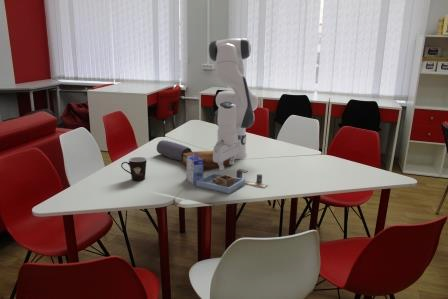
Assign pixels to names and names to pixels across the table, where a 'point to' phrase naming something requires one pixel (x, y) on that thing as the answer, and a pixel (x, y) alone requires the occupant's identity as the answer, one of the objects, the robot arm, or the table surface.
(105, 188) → the table surface
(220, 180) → the wooden mooncake mold
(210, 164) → the diary
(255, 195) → the table surface
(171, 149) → the bluetooth speaker
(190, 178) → the ink cartridge box
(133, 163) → the coffee mug
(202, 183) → the tray
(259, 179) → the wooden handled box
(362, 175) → the table surface
